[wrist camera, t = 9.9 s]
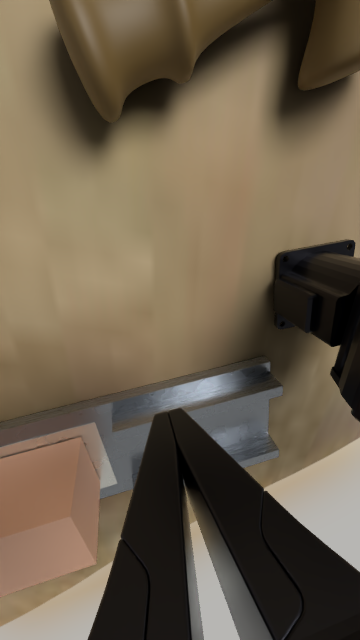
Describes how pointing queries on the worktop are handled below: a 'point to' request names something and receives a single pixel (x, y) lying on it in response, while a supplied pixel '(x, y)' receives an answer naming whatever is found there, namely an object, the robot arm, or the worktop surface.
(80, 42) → the kendama
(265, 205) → the worktop surface
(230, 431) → the chute
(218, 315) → the worktop surface
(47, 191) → the worktop surface
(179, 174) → the worktop surface
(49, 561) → the block
